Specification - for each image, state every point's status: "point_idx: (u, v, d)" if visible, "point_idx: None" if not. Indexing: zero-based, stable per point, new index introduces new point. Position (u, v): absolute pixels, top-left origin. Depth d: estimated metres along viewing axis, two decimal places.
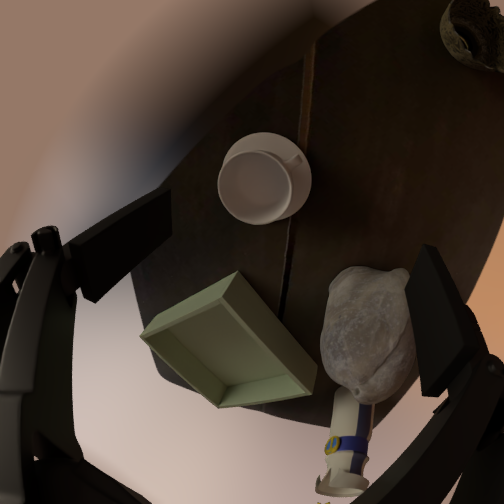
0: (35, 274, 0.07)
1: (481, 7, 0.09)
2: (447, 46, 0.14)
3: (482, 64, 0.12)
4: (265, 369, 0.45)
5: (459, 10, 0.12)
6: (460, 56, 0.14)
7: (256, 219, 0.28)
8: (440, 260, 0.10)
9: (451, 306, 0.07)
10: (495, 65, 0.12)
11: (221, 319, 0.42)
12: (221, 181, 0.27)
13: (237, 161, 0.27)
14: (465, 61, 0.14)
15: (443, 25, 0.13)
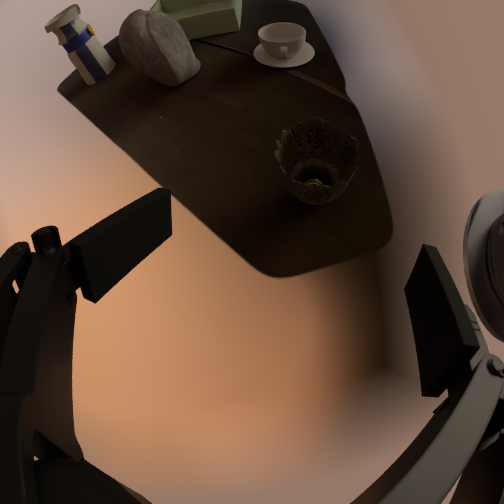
0: (35, 274, 0.07)
1: (343, 184, 0.23)
2: (314, 146, 0.27)
3: None
4: None
5: None
6: None
7: (264, 30, 0.34)
8: (440, 260, 0.10)
9: (451, 306, 0.07)
10: None
11: None
12: (295, 26, 0.33)
13: None
14: None
15: None
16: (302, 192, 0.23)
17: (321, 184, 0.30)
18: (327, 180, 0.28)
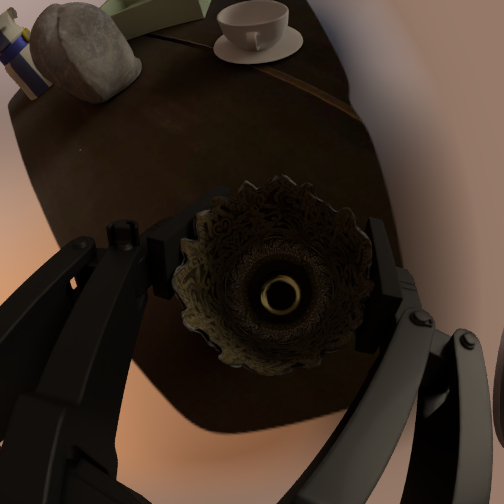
0: (104, 269, 0.08)
1: (327, 340, 0.11)
2: None
3: None
4: None
5: (335, 314, 0.13)
6: None
7: (228, 11, 0.22)
8: (382, 230, 0.12)
9: (378, 264, 0.09)
10: (209, 293, 0.13)
11: None
12: (275, 4, 0.21)
13: None
14: None
15: None
16: (236, 353, 0.11)
17: (295, 283, 0.17)
18: (304, 286, 0.16)
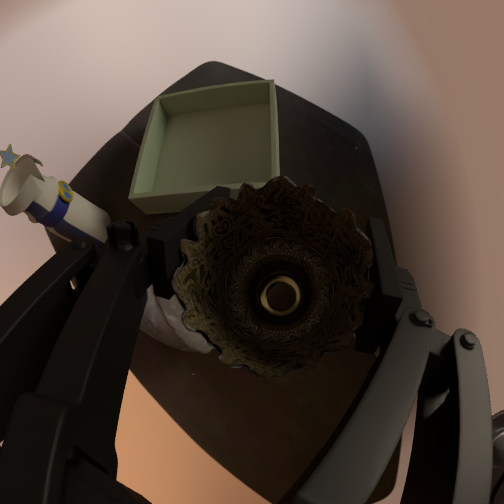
0: (104, 269, 0.08)
1: (327, 341, 0.11)
2: None
3: None
4: (169, 164, 0.43)
5: (335, 314, 0.13)
6: None
7: None
8: (382, 230, 0.12)
9: (378, 263, 0.09)
10: (210, 294, 0.13)
11: (243, 160, 0.41)
12: None
13: None
14: None
15: None
16: (237, 354, 0.11)
17: (295, 284, 0.17)
18: (304, 286, 0.16)
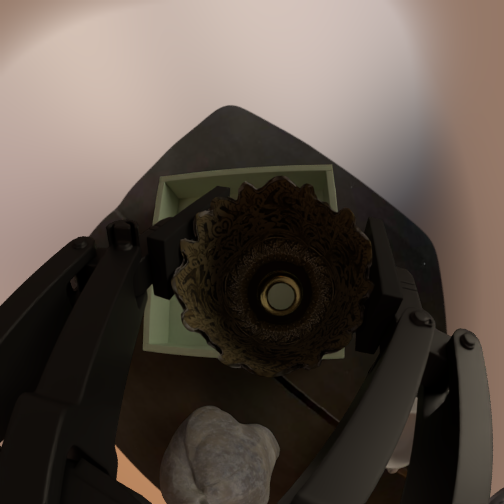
0: (104, 269, 0.08)
1: (327, 340, 0.11)
2: None
3: None
4: None
5: (335, 314, 0.13)
6: None
7: None
8: (382, 230, 0.12)
9: (378, 264, 0.09)
10: (209, 294, 0.13)
11: (290, 287, 0.32)
12: None
13: None
14: None
15: None
16: (236, 354, 0.11)
17: (295, 284, 0.17)
18: (304, 286, 0.16)
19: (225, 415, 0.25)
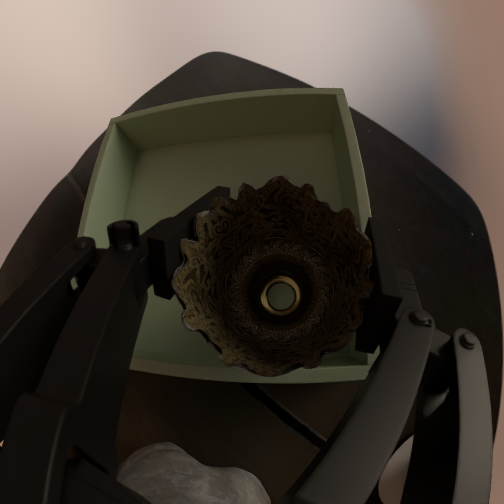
0: (104, 269, 0.08)
1: (327, 340, 0.11)
2: None
3: None
4: None
5: (335, 314, 0.13)
6: None
7: None
8: (382, 229, 0.12)
9: (378, 263, 0.09)
10: (209, 294, 0.13)
11: None
12: None
13: None
14: None
15: None
16: (236, 354, 0.11)
17: (295, 284, 0.17)
18: (304, 286, 0.16)
19: (182, 461, 0.14)
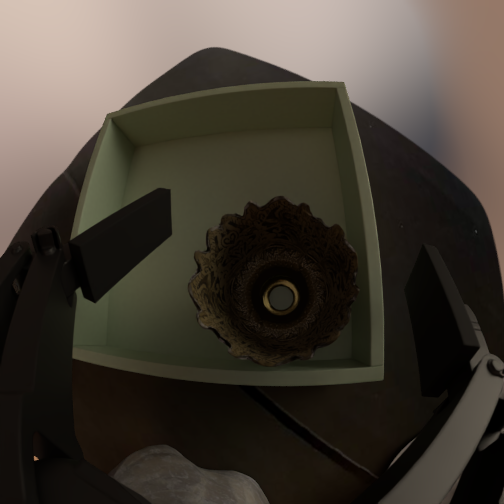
0: (34, 274, 0.07)
1: (320, 337, 0.12)
2: None
3: None
4: None
5: (328, 314, 0.15)
6: None
7: None
8: (440, 260, 0.10)
9: (451, 306, 0.07)
10: (218, 296, 0.15)
11: None
12: None
13: None
14: None
15: None
16: (243, 348, 0.13)
17: (294, 287, 0.19)
18: (301, 289, 0.17)
19: (179, 465, 0.13)
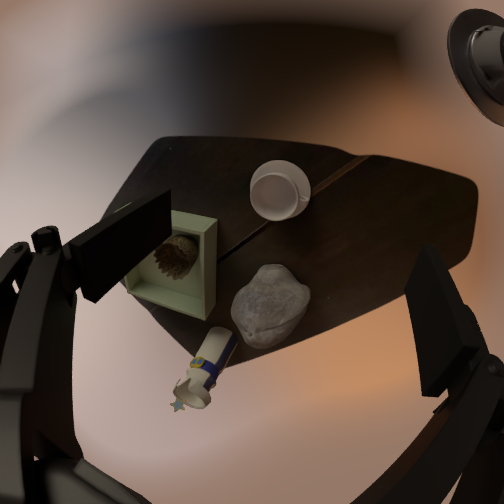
0: (34, 274, 0.07)
1: (187, 250, 0.48)
2: (167, 246, 0.52)
3: (158, 267, 0.50)
4: (180, 285, 0.61)
5: (188, 238, 0.50)
6: (164, 255, 0.52)
7: (260, 210, 0.44)
8: (440, 260, 0.10)
9: (451, 306, 0.07)
10: (182, 268, 0.52)
11: None
12: (260, 179, 0.41)
13: None
14: (165, 257, 0.52)
15: None
16: (191, 268, 0.50)
17: None
18: None
19: None
